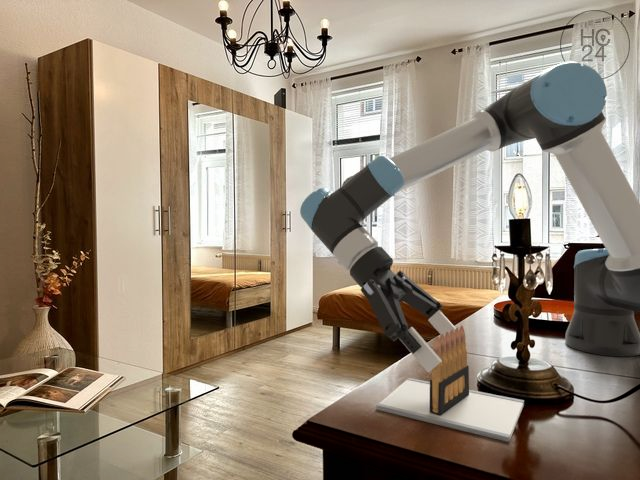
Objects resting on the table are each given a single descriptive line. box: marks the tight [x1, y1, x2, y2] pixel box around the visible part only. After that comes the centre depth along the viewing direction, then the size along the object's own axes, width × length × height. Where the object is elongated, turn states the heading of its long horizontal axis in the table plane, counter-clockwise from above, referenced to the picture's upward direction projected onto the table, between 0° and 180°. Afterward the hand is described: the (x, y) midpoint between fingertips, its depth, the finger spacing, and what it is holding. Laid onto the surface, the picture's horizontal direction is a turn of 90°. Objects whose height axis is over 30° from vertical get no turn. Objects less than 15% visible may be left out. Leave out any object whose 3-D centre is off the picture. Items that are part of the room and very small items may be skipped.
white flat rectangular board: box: [375, 377, 525, 443], centre depth 70 cm, size 20×14×1 cm
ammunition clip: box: [429, 325, 470, 416], centre depth 70 cm, size 11×2×12 cm, turn 137°
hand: (448, 354), depth 70 cm, fingers open, 13 cm apart
